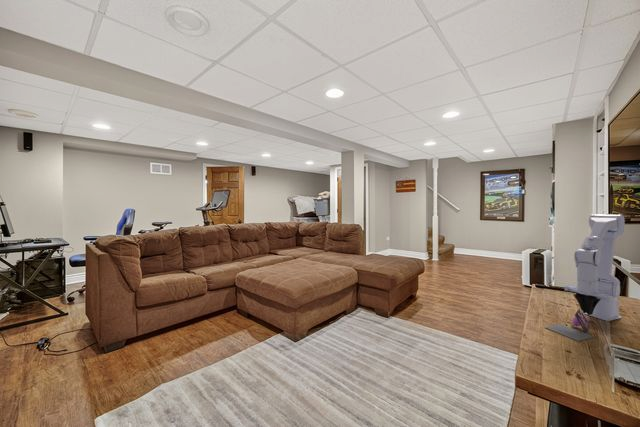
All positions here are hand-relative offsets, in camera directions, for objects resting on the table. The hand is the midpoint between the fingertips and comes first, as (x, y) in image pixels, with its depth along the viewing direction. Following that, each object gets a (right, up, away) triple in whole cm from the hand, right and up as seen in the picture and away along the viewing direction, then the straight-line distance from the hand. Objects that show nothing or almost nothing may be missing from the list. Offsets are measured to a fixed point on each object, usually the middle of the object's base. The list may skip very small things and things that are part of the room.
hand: (587, 313), depth 107 cm
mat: (-11, -6, -4) cm, 13 cm away
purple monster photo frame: (-4, -6, -1) cm, 7 cm away
